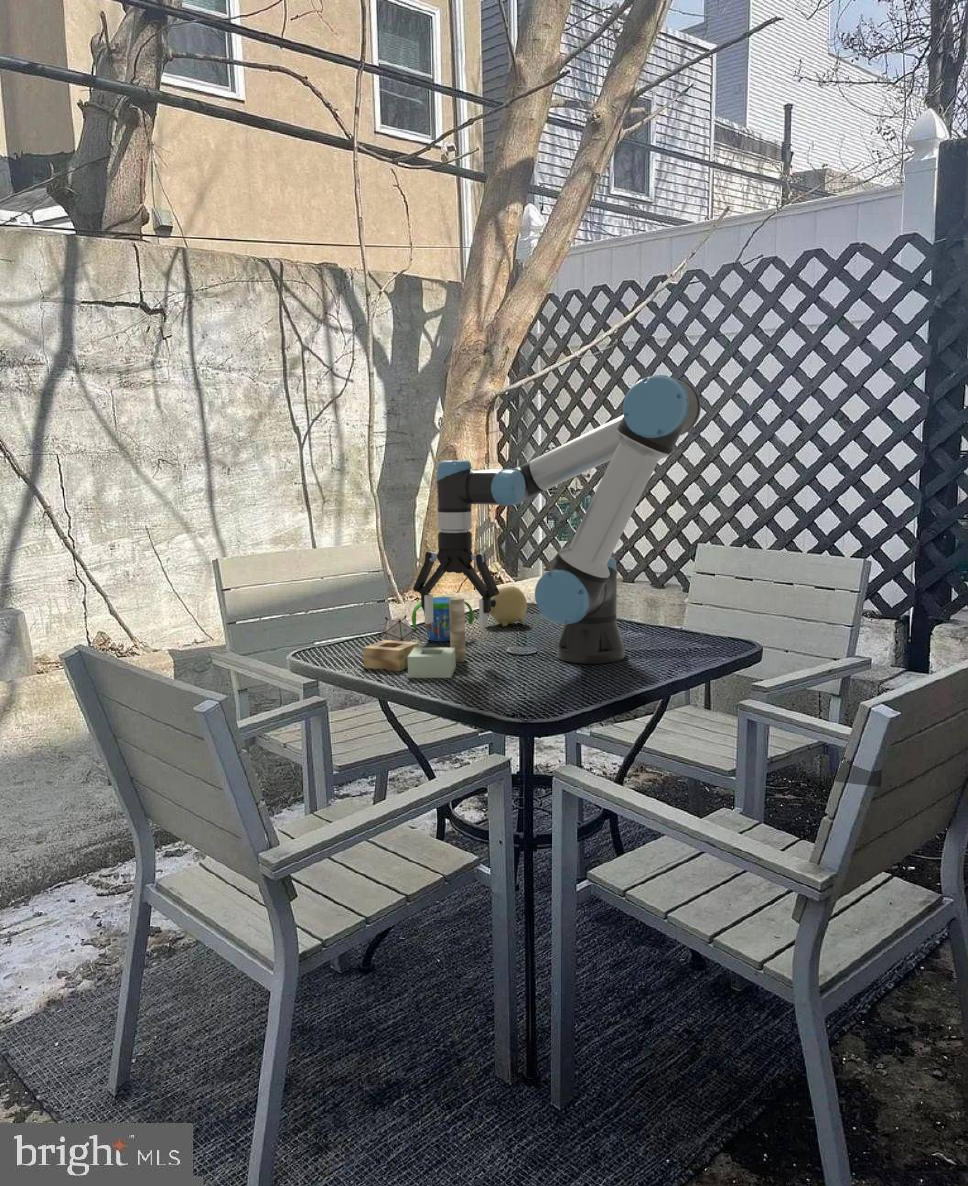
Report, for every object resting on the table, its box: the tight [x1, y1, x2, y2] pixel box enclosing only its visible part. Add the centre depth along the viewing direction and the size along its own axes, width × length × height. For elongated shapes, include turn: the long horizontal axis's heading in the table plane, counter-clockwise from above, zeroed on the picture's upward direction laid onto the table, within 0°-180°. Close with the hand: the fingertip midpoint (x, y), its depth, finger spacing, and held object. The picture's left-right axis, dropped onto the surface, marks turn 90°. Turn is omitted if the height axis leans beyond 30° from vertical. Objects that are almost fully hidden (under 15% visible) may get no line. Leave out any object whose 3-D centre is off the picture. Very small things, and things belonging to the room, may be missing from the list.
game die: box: [378, 614, 418, 642], centre depth 221 cm, size 9×8×10 cm
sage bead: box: [407, 647, 457, 679], centre depth 197 cm, size 9×9×4 cm
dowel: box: [449, 597, 467, 663], centre depth 207 cm, size 3×3×14 cm
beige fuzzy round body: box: [488, 585, 528, 627], centre depth 249 cm, size 10×12×11 cm
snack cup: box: [411, 596, 474, 643], centre depth 231 cm, size 16×10×10 cm
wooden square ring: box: [362, 639, 420, 672], centre depth 205 cm, size 9×9×4 cm
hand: (455, 625), depth 207 cm, fingers open, 13 cm apart
